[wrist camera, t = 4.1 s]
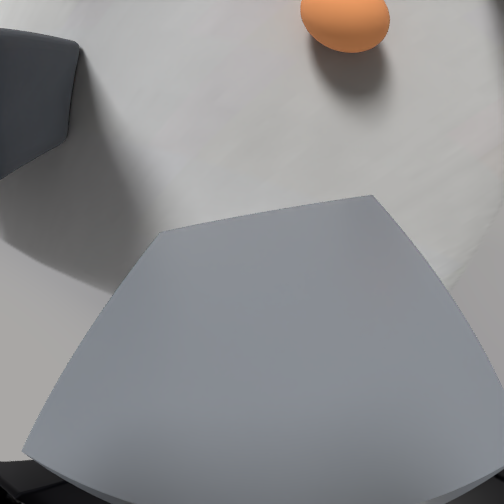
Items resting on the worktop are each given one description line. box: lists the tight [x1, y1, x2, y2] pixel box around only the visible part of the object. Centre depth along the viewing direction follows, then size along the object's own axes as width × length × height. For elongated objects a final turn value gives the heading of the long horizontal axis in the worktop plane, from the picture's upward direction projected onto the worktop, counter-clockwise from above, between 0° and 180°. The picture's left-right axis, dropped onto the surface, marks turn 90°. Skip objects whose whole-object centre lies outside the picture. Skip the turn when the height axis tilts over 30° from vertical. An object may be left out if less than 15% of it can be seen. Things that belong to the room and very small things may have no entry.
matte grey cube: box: [22, 195, 504, 504], centre depth 8 cm, size 8×8×9 cm
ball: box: [301, 0, 390, 53], centre depth 11 cm, size 5×5×5 cm
